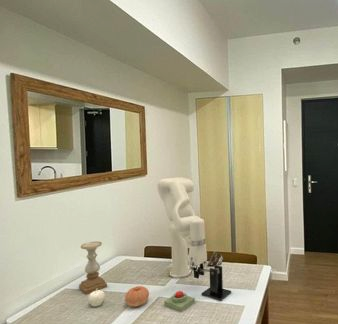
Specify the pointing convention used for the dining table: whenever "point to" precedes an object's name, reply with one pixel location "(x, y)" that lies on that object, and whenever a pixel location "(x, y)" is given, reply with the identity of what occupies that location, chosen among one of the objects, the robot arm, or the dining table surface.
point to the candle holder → (92, 270)
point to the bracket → (216, 285)
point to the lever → (206, 270)
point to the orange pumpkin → (137, 296)
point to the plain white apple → (96, 297)
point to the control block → (179, 302)
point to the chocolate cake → (215, 259)
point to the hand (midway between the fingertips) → (198, 276)
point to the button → (179, 294)
